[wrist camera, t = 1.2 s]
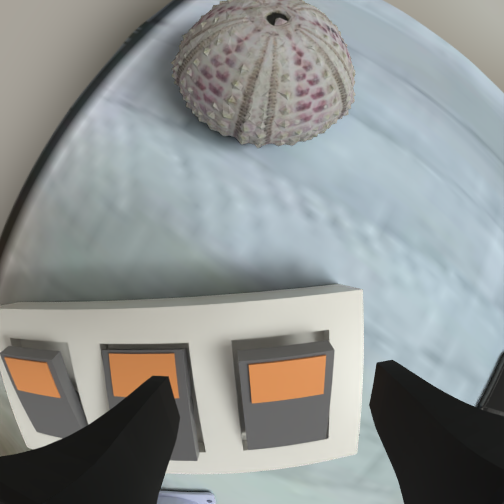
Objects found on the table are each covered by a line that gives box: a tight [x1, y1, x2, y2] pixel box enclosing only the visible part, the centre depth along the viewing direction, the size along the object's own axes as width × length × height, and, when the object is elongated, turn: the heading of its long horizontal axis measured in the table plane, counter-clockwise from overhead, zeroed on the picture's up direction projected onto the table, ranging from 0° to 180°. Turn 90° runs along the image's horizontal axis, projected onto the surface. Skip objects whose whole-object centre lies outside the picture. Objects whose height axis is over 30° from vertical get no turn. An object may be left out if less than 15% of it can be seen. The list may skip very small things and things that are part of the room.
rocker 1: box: [0, 346, 88, 438], centre depth 15 cm, size 7×5×2 cm
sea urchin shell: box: [171, 0, 355, 148], centre depth 17 cm, size 13×14×8 cm
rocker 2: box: [238, 340, 335, 450], centre depth 16 cm, size 7×5×2 cm
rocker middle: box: [102, 348, 200, 461], centre depth 15 cm, size 7×5×2 cm
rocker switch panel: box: [0, 284, 364, 474], centre depth 18 cm, size 12×26×4 cm, turn 94°
